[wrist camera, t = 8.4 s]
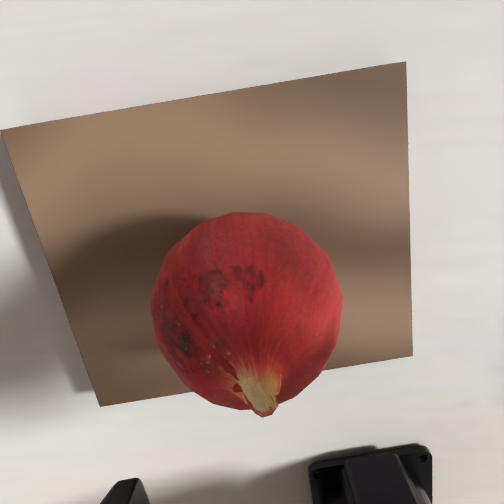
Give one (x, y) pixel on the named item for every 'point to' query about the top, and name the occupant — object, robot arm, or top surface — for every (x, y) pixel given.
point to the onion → (246, 310)
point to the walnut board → (222, 207)
